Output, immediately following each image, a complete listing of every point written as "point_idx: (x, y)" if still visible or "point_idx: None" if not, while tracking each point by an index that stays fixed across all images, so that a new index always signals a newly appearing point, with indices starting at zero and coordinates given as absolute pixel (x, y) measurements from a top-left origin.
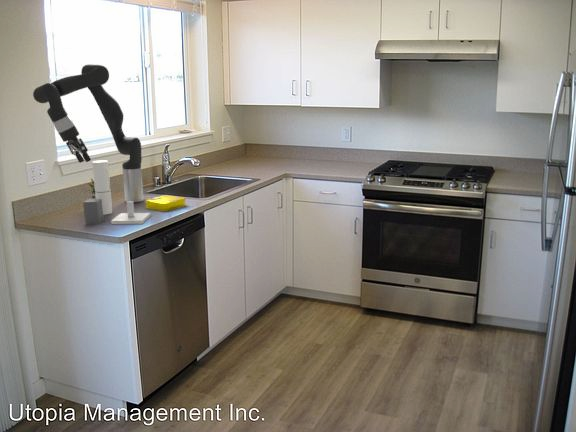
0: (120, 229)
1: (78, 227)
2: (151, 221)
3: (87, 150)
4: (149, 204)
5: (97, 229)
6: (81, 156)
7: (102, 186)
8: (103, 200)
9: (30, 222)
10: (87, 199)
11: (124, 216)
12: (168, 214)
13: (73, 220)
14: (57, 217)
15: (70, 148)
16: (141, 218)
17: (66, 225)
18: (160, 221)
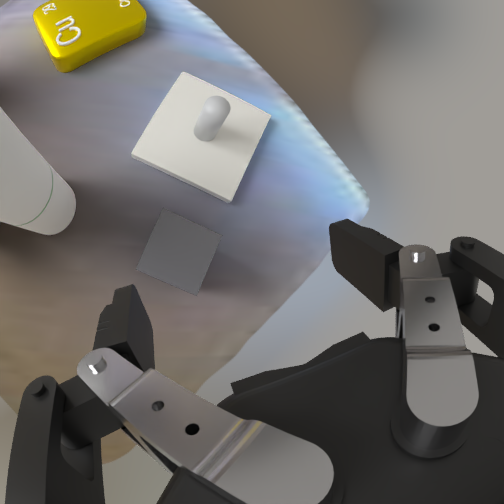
0: (303, 189)
1: (226, 312)
2: (249, 91)
3: (462, 241)
4: (82, 55)
5: (276, 254)
6: (131, 316)
7: (43, 181)
8: (62, 198)
9: (101, 450)
10: (146, 273)
11: (189, 149)
12: (189, 35)
13: None
14: (55, 374)
15: (101, 501)
16: (244, 109)
17: (181, 350)
18: (260, 73)
